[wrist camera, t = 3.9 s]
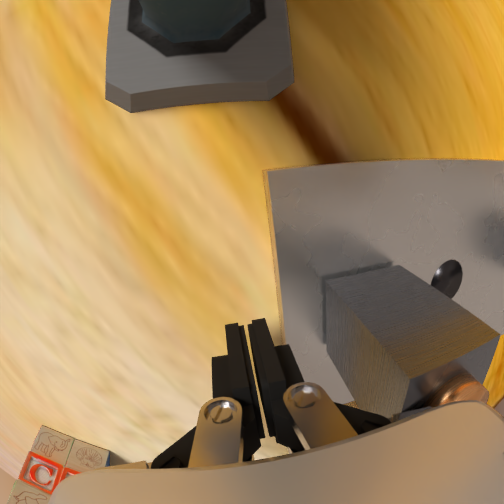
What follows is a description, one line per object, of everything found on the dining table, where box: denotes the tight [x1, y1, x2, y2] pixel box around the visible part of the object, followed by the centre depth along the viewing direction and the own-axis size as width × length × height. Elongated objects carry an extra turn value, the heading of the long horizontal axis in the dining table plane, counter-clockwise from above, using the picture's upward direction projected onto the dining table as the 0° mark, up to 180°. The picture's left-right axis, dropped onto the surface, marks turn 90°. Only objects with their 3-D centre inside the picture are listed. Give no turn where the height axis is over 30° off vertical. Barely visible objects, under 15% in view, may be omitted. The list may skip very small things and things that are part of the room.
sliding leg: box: [325, 265, 501, 418], centre depth 10 cm, size 4×4×8 cm
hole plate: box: [262, 159, 504, 404], centre depth 15 cm, size 25×14×1 cm, turn 98°
